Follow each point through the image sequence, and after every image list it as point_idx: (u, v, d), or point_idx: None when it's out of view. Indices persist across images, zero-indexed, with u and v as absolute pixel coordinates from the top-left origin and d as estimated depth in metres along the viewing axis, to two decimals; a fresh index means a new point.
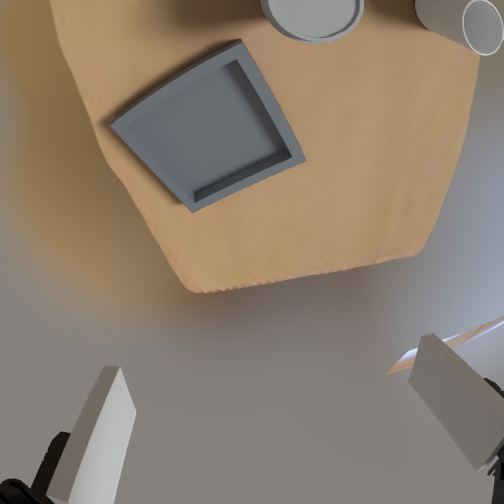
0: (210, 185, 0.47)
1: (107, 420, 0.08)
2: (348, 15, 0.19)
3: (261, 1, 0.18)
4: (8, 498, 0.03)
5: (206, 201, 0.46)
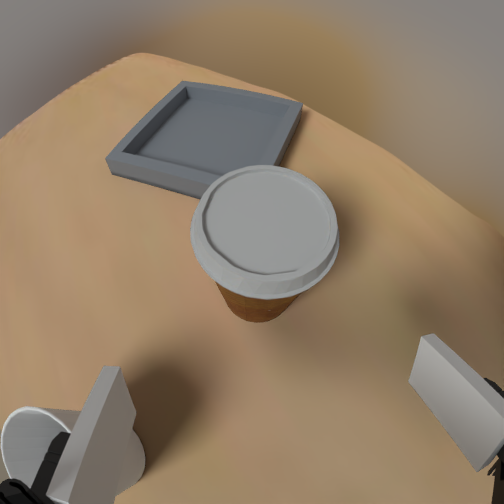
0: (178, 107, 0.41)
1: (107, 420, 0.08)
2: (216, 233, 0.17)
3: None
4: (8, 498, 0.03)
5: (176, 91, 0.40)
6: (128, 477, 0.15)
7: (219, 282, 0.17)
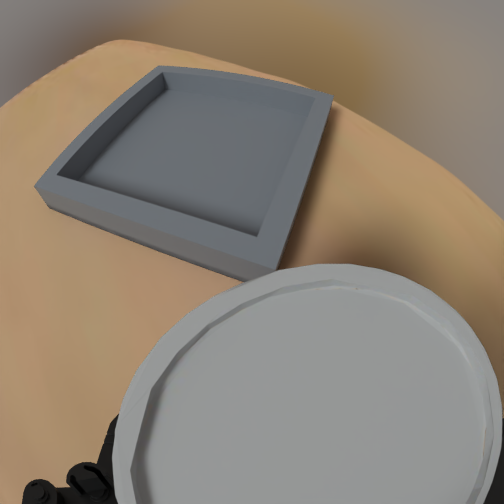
0: (150, 101, 0.28)
1: None
2: None
3: None
4: (80, 482, 0.05)
5: (147, 78, 0.26)
6: None
7: None
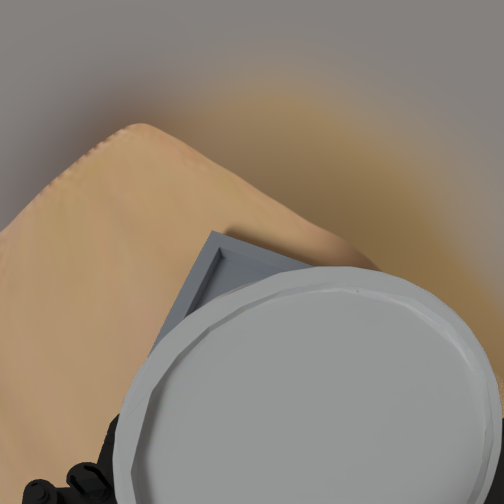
0: (210, 279, 0.32)
1: None
2: None
3: None
4: (80, 482, 0.05)
5: (205, 258, 0.31)
6: None
7: None
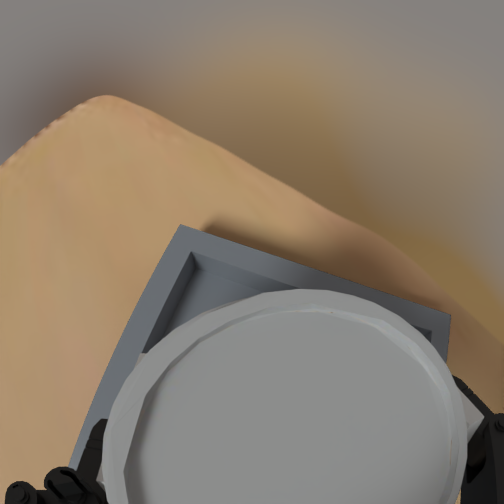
0: (178, 305, 0.19)
1: None
2: None
3: None
4: (57, 486, 0.04)
5: (168, 271, 0.18)
6: None
7: None
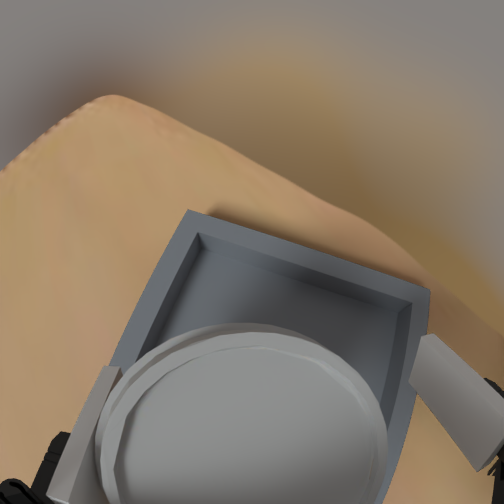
0: (185, 280, 0.22)
1: None
2: None
3: None
4: (8, 498, 0.03)
5: (178, 249, 0.21)
6: None
7: None
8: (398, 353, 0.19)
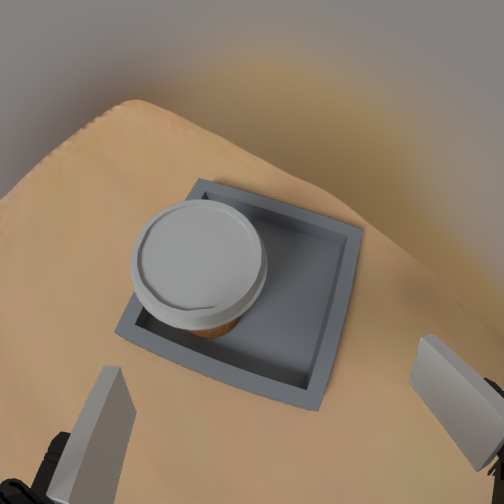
0: None
1: (107, 420, 0.08)
2: (148, 269, 0.19)
3: None
4: (8, 498, 0.03)
5: None
6: None
7: (151, 313, 0.18)
8: (338, 269, 0.31)
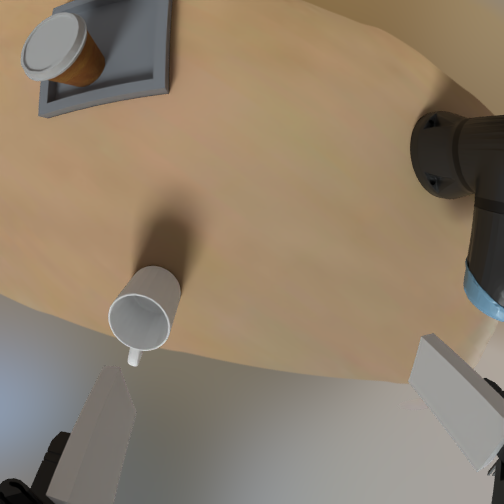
0: None
1: (107, 420, 0.08)
2: (30, 63, 0.21)
3: None
4: (8, 498, 0.03)
5: None
6: (175, 297, 0.39)
7: (39, 80, 0.23)
8: None
